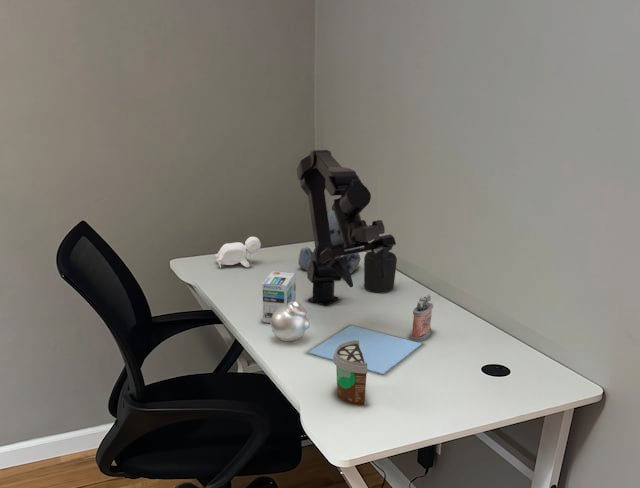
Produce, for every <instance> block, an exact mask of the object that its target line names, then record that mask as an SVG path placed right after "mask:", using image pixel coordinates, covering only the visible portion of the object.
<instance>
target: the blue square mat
mask: <svg viewBox="0 0 640 488" xmlns="http://www.w3.org/2000/svg"><path fill="white" fill-rule="evenodd" d="M354 340H359V347H360V350H361V352H362V355H363V359H364V362H365V363H367V372H368V371H369V372H372V373H375V374H379V375H384V374H386V373H387V372H388V371H389V370H391V369H392V368H393V367H395V366H396V365H397V364H398V363H400V362H401V361H402V360H404V359H405V358H406V357H408V356H409V355H410V354H411V353H413V352H414V351H415V350H416V349H418V348H419V347H421V345H422V342H419V341H413V340H411V339H410V340H409V339H407V338H402V337H398V336H394V335H390V334H386V333H382V332H378V331H375V330H372V329H371V330H370V329H367V328H362V327H359V326H355V325H349V326H348V327H346V328H344V329H343V330H341V331H340V332H338V333H337V334H335V335H333V336H332V337H330V338H328V339H326V340H325V341H324V342H321V344H319V345H316V347H314V348H312V349H311V350H310V351H308V354H309V355H314V356H317V357H320V358H323V359H327V360H330V361H333V357H334V353H335V350H336V348H337V347H338V346H339V345H340V344H342V343H345V342H348V341H354Z"/></svg>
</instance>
